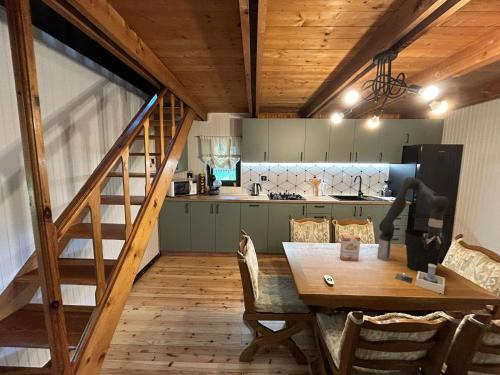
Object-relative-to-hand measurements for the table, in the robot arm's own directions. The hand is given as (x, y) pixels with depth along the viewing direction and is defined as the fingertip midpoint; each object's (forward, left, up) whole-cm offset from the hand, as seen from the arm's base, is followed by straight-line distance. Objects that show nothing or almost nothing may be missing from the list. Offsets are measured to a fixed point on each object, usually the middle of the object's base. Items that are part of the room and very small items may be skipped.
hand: (431, 248), depth 164 cm
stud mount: (-13, -2, -26) cm, 30 cm away
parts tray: (+2, -1, -26) cm, 27 cm away
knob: (+2, -1, -26) cm, 26 cm away
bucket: (-5, +27, -27) cm, 38 cm away
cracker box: (-54, +6, -27) cm, 61 cm away
